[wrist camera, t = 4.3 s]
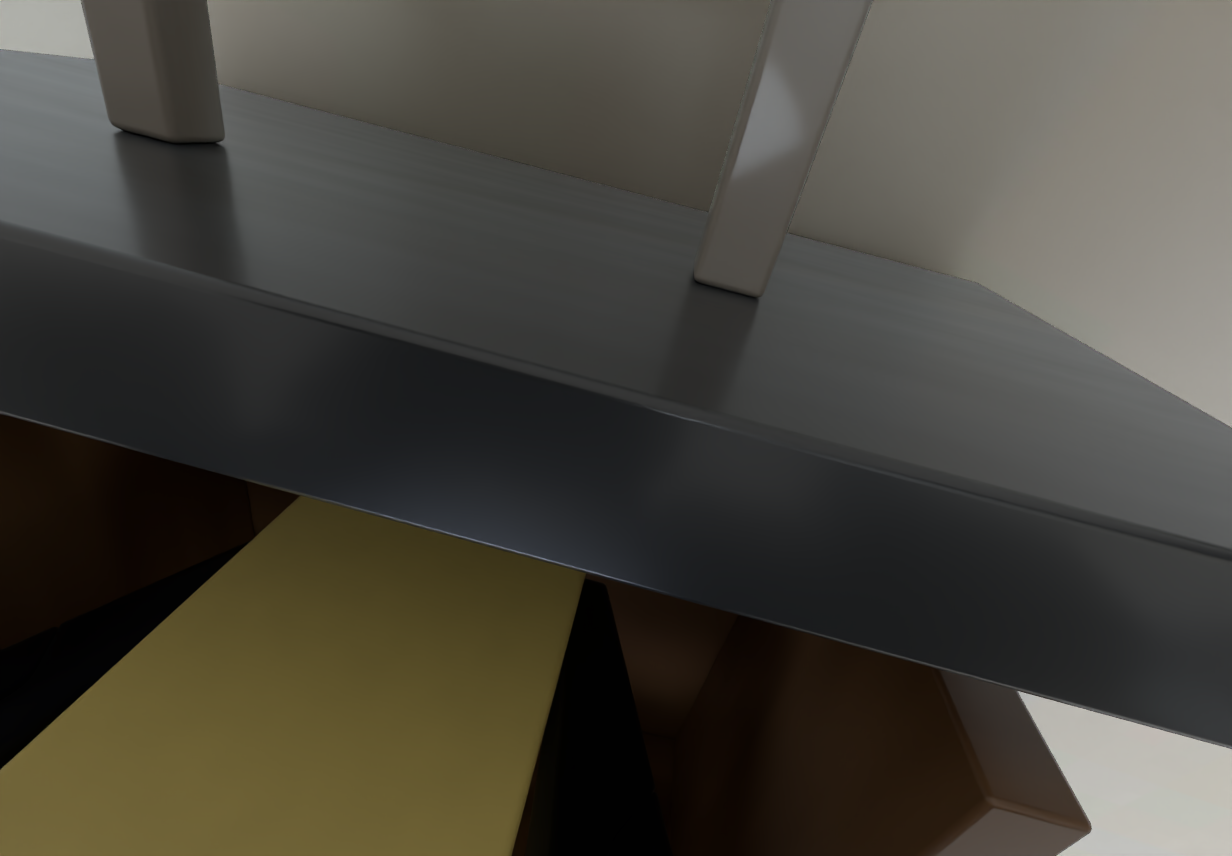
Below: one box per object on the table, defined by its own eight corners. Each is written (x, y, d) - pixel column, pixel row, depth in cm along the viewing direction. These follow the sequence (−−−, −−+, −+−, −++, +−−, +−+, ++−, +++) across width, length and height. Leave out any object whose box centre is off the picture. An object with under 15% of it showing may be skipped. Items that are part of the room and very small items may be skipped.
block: (615, 461, 9) (460, 1050, 3) (575, 610, 11) (432, 1145, 5) (398, 402, 10) (-131, 881, 3) (396, 561, 12) (59, 1038, 6)
